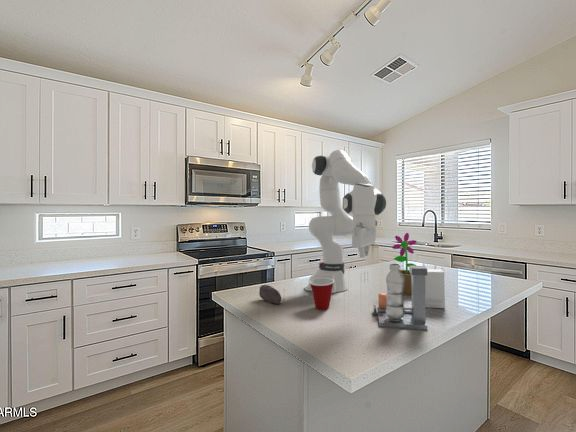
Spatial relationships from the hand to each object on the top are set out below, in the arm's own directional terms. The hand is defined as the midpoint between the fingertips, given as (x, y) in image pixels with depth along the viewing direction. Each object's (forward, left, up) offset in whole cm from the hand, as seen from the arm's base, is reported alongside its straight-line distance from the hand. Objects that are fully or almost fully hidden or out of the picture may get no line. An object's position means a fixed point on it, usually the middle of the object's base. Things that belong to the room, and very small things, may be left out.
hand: (364, 256), depth 124 cm
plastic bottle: (+11, -10, -22) cm, 26 cm away
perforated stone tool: (-42, +7, -23) cm, 49 cm away
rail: (+13, 0, -23) cm, 26 cm away
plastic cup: (-18, +3, -23) cm, 30 cm away
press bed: (+13, -9, -23) cm, 28 cm away
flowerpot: (+21, +36, -23) cm, 48 cm away
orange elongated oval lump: (+7, 0, -22) cm, 23 cm away
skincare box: (+29, +15, -23) cm, 40 cm away
